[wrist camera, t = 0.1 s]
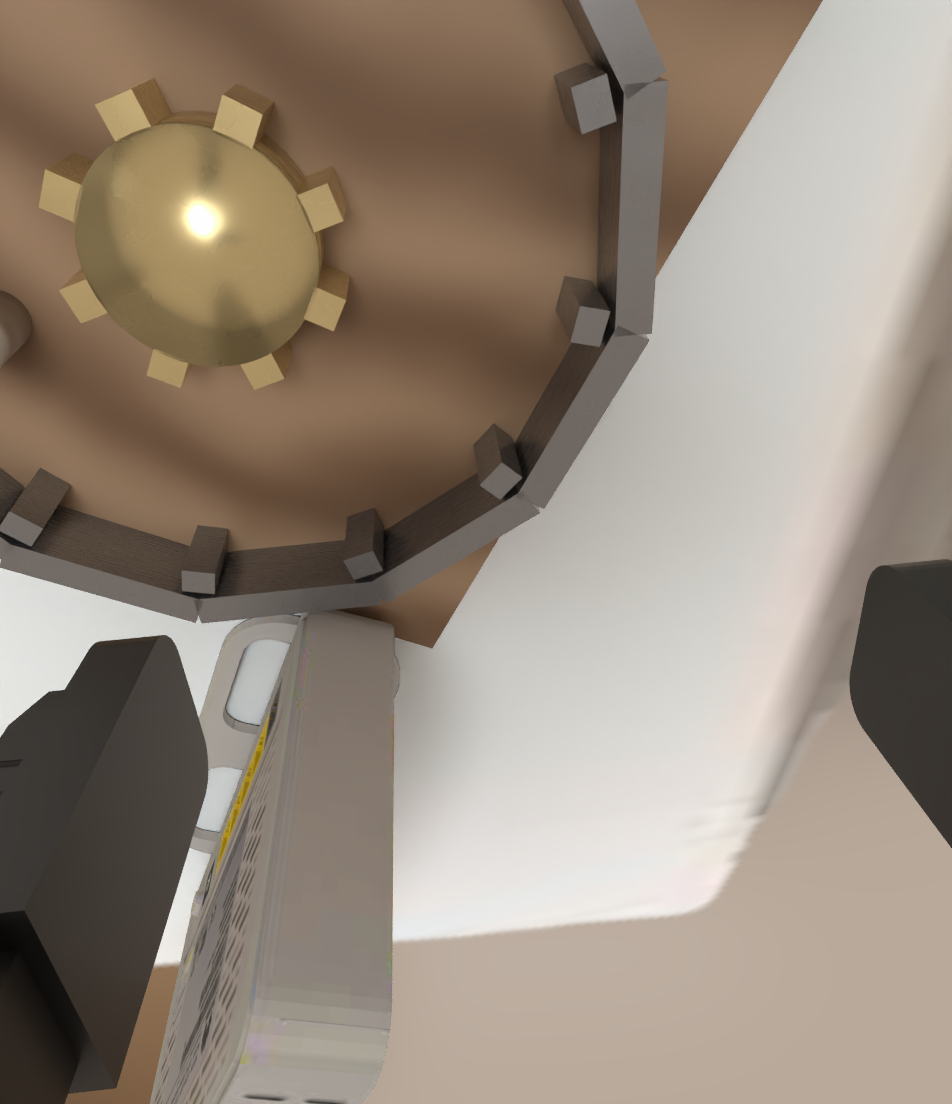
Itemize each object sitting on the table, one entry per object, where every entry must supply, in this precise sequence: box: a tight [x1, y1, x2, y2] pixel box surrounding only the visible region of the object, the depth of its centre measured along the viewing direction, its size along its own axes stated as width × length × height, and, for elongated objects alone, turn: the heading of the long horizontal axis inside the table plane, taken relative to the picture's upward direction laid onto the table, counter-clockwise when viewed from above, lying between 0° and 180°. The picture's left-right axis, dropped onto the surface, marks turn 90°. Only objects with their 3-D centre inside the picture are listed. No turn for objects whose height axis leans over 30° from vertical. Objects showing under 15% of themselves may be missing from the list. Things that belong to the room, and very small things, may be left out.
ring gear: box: [0, 0, 668, 623], centre depth 25 cm, size 27×27×3 cm
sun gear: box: [39, 78, 350, 390], centre depth 25 cm, size 9×9×2 cm
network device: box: [150, 610, 400, 1104], centre depth 35 cm, size 26×9×20 cm, turn 158°
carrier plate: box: [0, 0, 823, 648], centre depth 25 cm, size 28×28×6 cm
